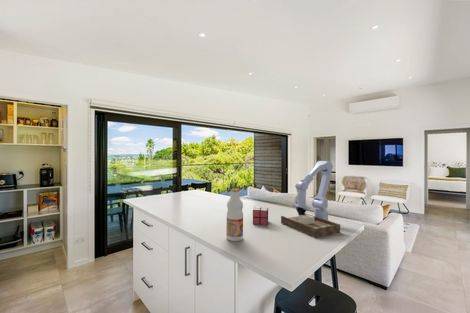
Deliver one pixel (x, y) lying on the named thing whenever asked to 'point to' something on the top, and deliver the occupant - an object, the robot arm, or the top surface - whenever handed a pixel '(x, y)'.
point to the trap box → (312, 226)
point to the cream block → (306, 219)
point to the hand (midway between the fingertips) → (301, 218)
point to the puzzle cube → (260, 215)
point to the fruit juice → (234, 217)
